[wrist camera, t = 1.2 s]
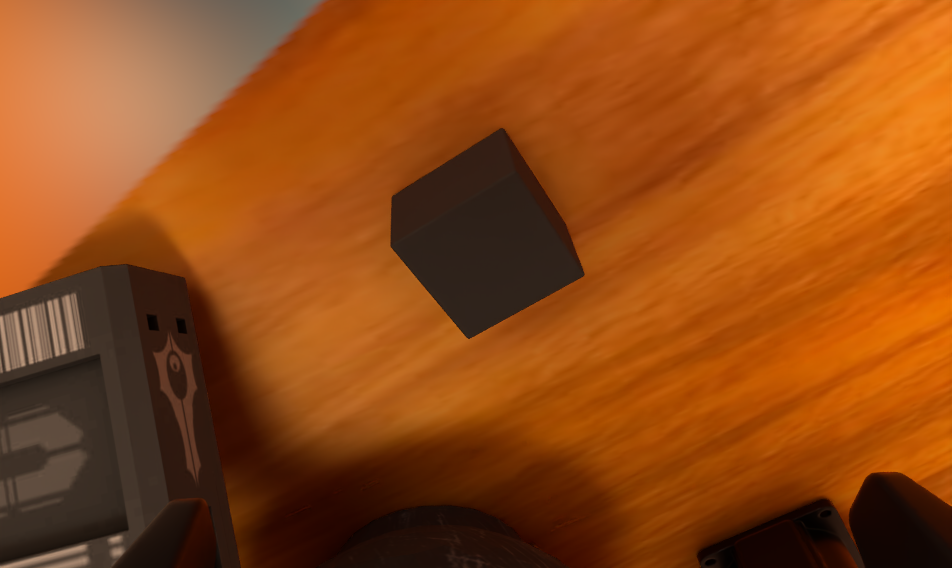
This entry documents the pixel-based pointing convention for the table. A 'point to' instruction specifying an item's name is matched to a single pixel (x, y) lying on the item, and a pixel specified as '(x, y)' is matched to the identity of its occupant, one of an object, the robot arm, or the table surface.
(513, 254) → the black block
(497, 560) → the bowl
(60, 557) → the geiger counter
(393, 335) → the table surface
